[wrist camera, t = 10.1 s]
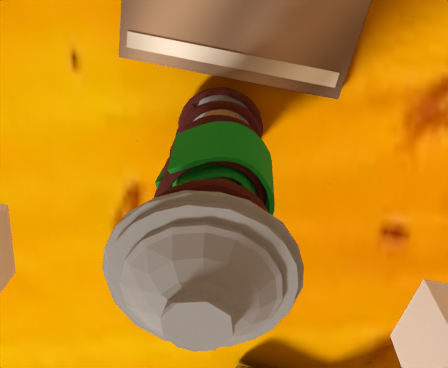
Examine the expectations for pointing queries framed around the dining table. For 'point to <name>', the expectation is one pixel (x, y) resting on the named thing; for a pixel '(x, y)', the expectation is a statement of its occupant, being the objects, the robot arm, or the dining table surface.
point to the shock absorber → (208, 235)
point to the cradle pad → (248, 39)
